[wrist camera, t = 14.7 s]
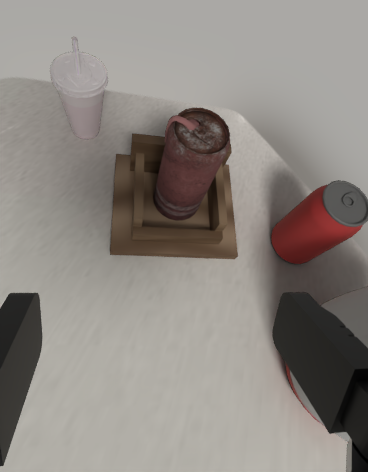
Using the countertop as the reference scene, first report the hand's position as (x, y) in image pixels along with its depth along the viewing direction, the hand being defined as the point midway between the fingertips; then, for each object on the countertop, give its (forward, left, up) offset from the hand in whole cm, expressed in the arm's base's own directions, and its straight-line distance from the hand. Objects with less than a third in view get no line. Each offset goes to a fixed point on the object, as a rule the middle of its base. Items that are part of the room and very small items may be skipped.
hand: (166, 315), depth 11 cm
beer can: (+3, +26, -27) cm, 38 cm away
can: (-11, +16, -26) cm, 33 cm away
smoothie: (-28, +14, -27) cm, 41 cm away
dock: (-11, +16, -27) cm, 33 cm away
